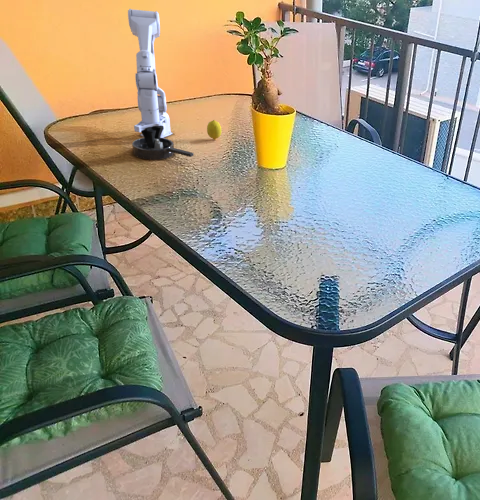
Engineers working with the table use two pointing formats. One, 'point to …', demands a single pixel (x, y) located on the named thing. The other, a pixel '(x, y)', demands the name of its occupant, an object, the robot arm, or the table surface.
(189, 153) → the pan handle
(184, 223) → the table surface
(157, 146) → the lighter
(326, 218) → the table surface
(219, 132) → the lemon
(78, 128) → the table surface
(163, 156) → the pan
